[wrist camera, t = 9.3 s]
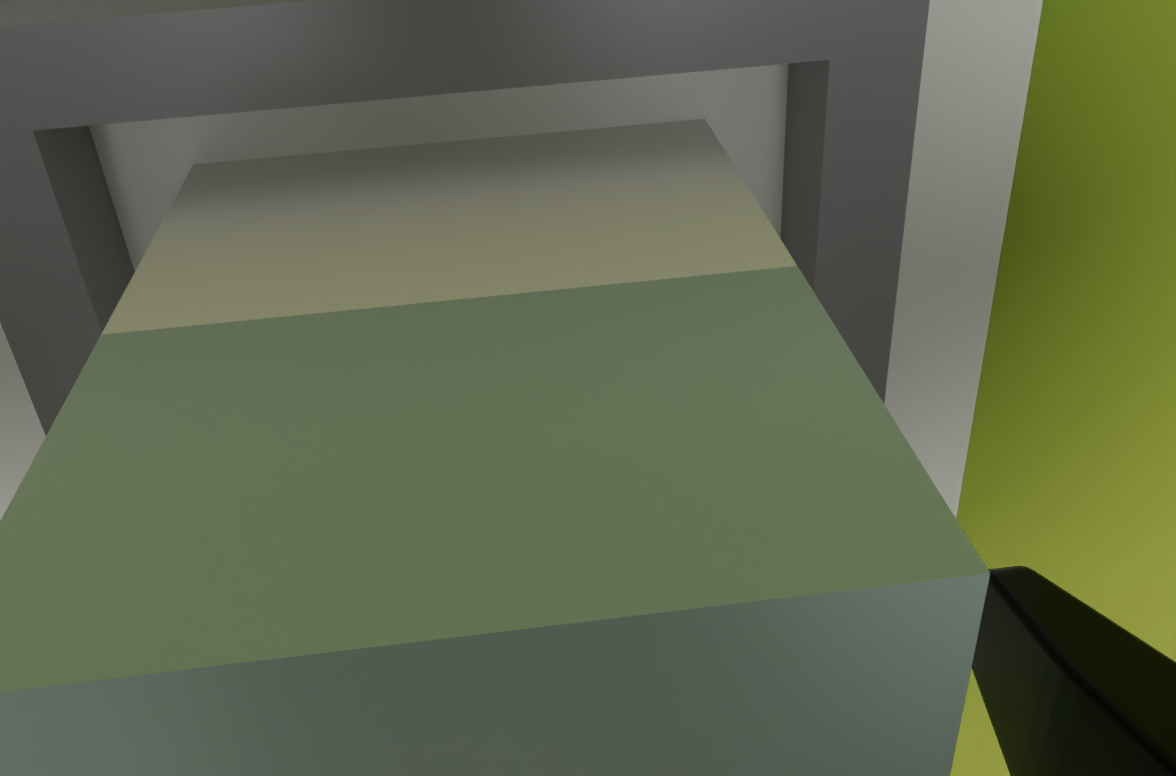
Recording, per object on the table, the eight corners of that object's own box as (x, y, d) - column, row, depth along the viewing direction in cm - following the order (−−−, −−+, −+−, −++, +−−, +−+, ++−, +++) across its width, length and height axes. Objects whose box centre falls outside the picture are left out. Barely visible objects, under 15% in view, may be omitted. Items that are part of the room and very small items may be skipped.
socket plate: (1038, -303, 12) (1177, -306, 10) (906, 614, 20) (967, 734, 17) (-283, -216, 11) (-469, -194, 9) (116, 712, 19) (70, 852, 16)
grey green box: (705, 118, 13) (991, 572, 6) (702, 510, 16) (887, 1087, 9) (192, 164, 12) (-100, 703, 6) (295, 557, 16) (186, 1194, 9)
